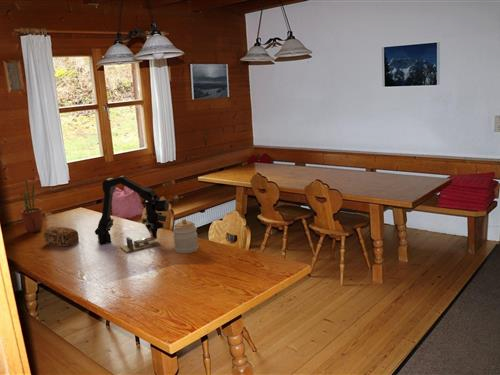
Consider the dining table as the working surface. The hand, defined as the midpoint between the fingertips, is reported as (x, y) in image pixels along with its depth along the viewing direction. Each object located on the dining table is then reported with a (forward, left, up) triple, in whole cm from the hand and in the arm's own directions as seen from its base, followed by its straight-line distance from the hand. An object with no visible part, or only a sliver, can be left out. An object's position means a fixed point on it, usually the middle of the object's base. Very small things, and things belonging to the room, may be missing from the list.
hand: (153, 237), depth 281 cm
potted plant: (-52, +82, -4) cm, 97 cm away
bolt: (-5, 0, -2) cm, 6 cm away
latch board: (-9, 0, -4) cm, 9 cm away
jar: (+9, -24, -4) cm, 26 cm away
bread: (-43, +42, -4) cm, 61 cm away
